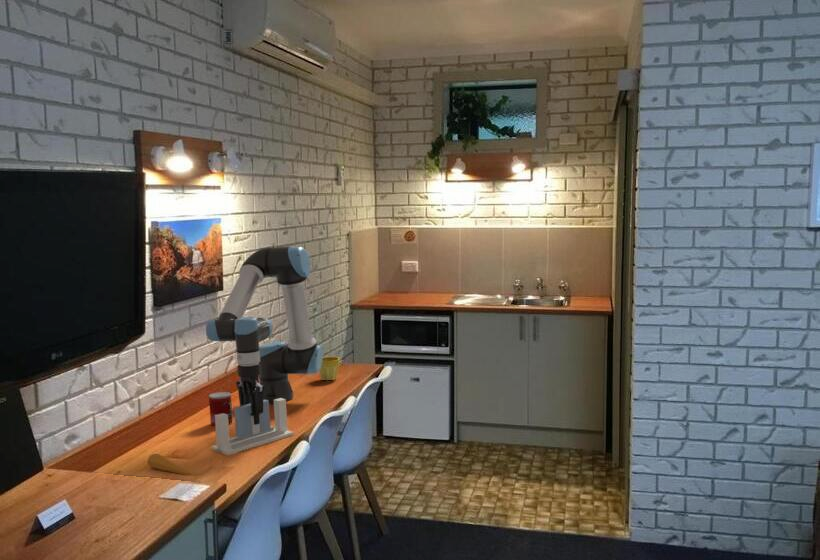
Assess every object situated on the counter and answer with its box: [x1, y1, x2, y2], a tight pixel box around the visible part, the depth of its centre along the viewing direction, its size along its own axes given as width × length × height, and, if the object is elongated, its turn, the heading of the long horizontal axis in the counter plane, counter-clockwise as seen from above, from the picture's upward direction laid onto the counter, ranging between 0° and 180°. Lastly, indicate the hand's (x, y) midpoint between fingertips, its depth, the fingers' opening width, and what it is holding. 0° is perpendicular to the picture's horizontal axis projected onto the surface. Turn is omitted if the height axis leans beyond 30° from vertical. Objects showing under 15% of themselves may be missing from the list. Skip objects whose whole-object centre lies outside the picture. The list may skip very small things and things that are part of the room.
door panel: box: [233, 400, 271, 438], centre depth 242 cm, size 12×2×10 cm, turn 136°
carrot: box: [146, 453, 196, 476], centre depth 218 cm, size 20×4×4 cm, turn 62°
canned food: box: [208, 391, 233, 427], centre depth 265 cm, size 8×8×11 cm
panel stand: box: [211, 398, 295, 456], centre depth 242 cm, size 26×10×12 cm, turn 136°
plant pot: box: [318, 356, 341, 380], centre depth 328 cm, size 10×10×10 cm
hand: (253, 432), depth 243 cm, fingers closed on door panel, 2 cm apart
